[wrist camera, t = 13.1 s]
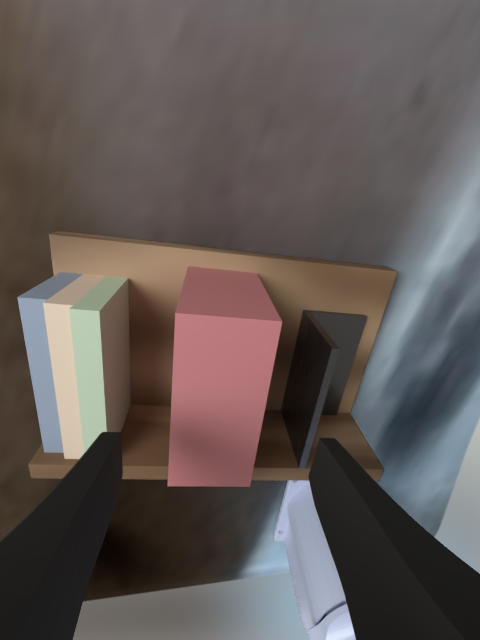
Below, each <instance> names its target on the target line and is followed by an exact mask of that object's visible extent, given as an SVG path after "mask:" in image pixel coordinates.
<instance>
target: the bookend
mask: <svg viewBox="0 0 480 640" xmlns="http://www.w3.org/2000/svg"><path fill="white" fill-rule="evenodd" d="M366 320H367V316H366V315H361V314H349V313H337V312H326V311H314V310H303V312H302V317H301V321H300V326H299V330H298V335H297V339H296V344H295V348H294V353H293V357H292V362H291V366H290V371H289V375H288V380H287V384H286V389H285V393H284V398H283V402H282V407H281V413H282V417H283V420H284V423H285V426H286V429H287V432H288V436H289V439H290V442H291V445H292V448H293V452H294V455H295V458H296V461H297V464H298V468H306V464H307V461H308V457H309V454H310V451H311V447H312V444H313V440H314V437H315V433H316V430H317V426H318V423H319V420H320V416H321V415H337V412H338V409H339V406H340V402H341V399H342V396H343V393H344V390H345V387H346V383H347V380H348V377H349V374H350V371H351V368H352V364H353V361H354V358H355V355H356V352H357V349H358V345H359V342H360V339H361V336H362V333H363V330H364V326H365V323H366Z"/></svg>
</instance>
